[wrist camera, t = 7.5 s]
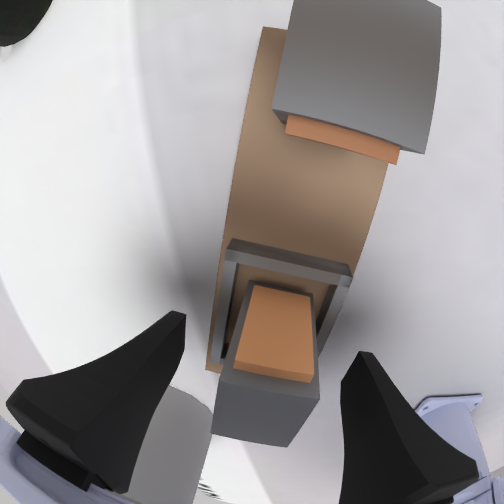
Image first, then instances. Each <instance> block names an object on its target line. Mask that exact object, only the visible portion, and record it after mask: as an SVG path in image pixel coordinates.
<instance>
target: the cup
mask: <svg viewBox="0 0 504 504" xmlns="http://www.w3.org/2000/svg"><path fill="white" fill-rule="evenodd" d="M212 419H213V415H212V413H211V411H210V410H209V408H208V407H206V406H205V405H204V404H202V403H201V402H200V401H198V400H197V399H196V398H194V397H193V396H192V395H190V394H187V393H185V392H183V391H181V390H178V389H176V388H174V387H172V386H170V385H169V386H168V387H167V389H166V391H165V393H164V395H163V397H162V399H161V401H160V402H159V404H158V406H157V408H156V410H155V412H154V414H153V417H152V419H151V422H150V424H149V427H148V429H147V432H146V435H145V438H144V440H143V443H142V446H141V449H140V452H139V455H138V458H137V461H136V465H135V468H134V471H133V475H132V478H131V482H130V486H129V490H128V492H127V493H124V494H118V493H116V492H111V491H109V490H107V489H105V490H106V491H108V492H110V493H112V494H114V495H116V496H118V497H121V498H123V499H125V500H128V501H130V502H132V503H135V504H192V503H193V500H194V496H195V493H196V490H197V486H198V483H199V479H200V476H201V472H202V469H203V465H204V462H205V458H206V455H207V451H208V448H209V444H210V441H211V437H212V433H210V432H211V425H212Z"/></svg>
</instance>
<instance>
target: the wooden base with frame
mask: <svg viewBox="0 0 504 504" xmlns="http://www.w3.org/2000/svg"><path fill="white" fill-rule="evenodd" d="M440 48H441V7H439V6H437V5H435V4H433V3H431V2H429V1H427V0H294V2H293V7H292V11H291V16H290V21H289V26H288V30H284V29H278V28H270V27H263V29H262V33H261V38H260V42H259V47H258V51H257V56H256V61H255V65H254V70H253V75H252V80H251V84H250V89H249V94H248V99H247V104H246V109H245V115H244V120H243V125H242V130H241V136H240V141H239V146H238V152H237V157H236V163H235V169H234V174H233V180H232V186H231V192H230V198H229V204H228V210H227V216H226V222H225V229H224V235H223V242H222V248H221V255H220V262H219V268H218V275H217V282H216V290H215V297H214V304H213V312H212V319H211V327H210V335H209V343H208V351H207V360H206V368H205V370H209V371H213V372H216V373H220V374H221V372H222V368H223V365H224V362H225V358H226V355H227V352H228V349H229V345H230V342H231V339H232V335H233V332H234V329H235V325H236V322H237V319H238V315H239V312H240V309H241V305H242V302H243V299H244V295H245V292H246V289H247V285H248V282H249V280H253V281H258V282H262V283H267V284H271V285H276V286H280V287H285V288H289V289H294V290H299V291H303V292H308V293H313V301H314V312H315V325H316V338H317V353H318V357H319V355H320V353H321V351H322V349H323V347H324V345H325V342H326V340H327V338H328V336H329V334H330V332H331V329H332V327H333V325H334V323H335V320H336V318H337V316H338V313H339V311H340V309H341V306H342V304H343V301H344V299H345V297H346V294H347V292H348V289H349V287H350V284H351V282H352V279H353V274H354V271H355V268H356V266H357V263H358V260H359V258H360V255H361V252H362V249H363V246H364V243H365V240H366V237H367V234H368V231H369V228H370V225H371V222H372V219H373V216H374V213H375V209H376V206H377V203H378V199H379V196H380V193H381V189H382V185H383V182H384V178H385V174H386V171H387V167H388V163H391V164H394V165H396V164H397V160H398V156H399V151H400V150H405V151H410V152H415V153H420V154H425V150H426V145H427V141H428V136H429V131H430V126H431V121H432V115H433V109H434V103H435V97H436V89H437V81H438V72H439V62H440Z"/></svg>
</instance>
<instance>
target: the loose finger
mask: <svg viewBox="0 0 504 504" xmlns="http://www.w3.org/2000/svg"><path fill="white" fill-rule="evenodd" d="M319 399H320V392H319V370H318V353H317V338H316V325H315V312H314V301H313V293H308V292H303V291H299V290H294V289H289V288H285V287H280V286H276V285H271V284H267V283H262V282H258V281H253V280H249V282H248V285H247V289H246V292H245V295H244V299H243V302H242V305H241V309H240V312H239V315H238V319H237V322H236V325H235V329H234V332H233V335H232V339H231V342H230V345H229V349H228V352H227V355H226V358H225V362H224V365H223V368H222V372H221V375H220V378H219V383H218V389H217V395H216V401H215V407H214V413H213V419H212V425H211V432H210V433H212V434H216V435H220V436H224V437H229V438H233V439H238V440H243V441H248V442H254V443H260V444H266V445H272V446H279V447H288V445H289V444H290V443H291V441H292V440H293V438H294V437H295V436H296V434H297V433H298V431H299V430H300V428H301V427H302V426H303V424H304V423H305V421H306V420H307V418H308V417H309V415H310V414H311V412H312V411H313V409H314V407H315V406H316V404H317V403H318V401H319Z"/></svg>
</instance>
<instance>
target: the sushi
mask: <svg viewBox="0 0 504 504" xmlns="http://www.w3.org/2000/svg"><path fill="white" fill-rule="evenodd" d="M51 1H52V0H0V46H3V47H5V46H9V45H12V44H14V43H16V42H18V41H20V40H22V39H23V38H25V37H26V36H27V35H28V34H29V33H30V32H31V31H32V30H33V29H34V28H35V26H36V25H37V24H38V22H39V21H40V20H41V18H42V17H43V15H44V14H45V12H46V10H47V9H48V7H49V6H50V3H51Z"/></svg>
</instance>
